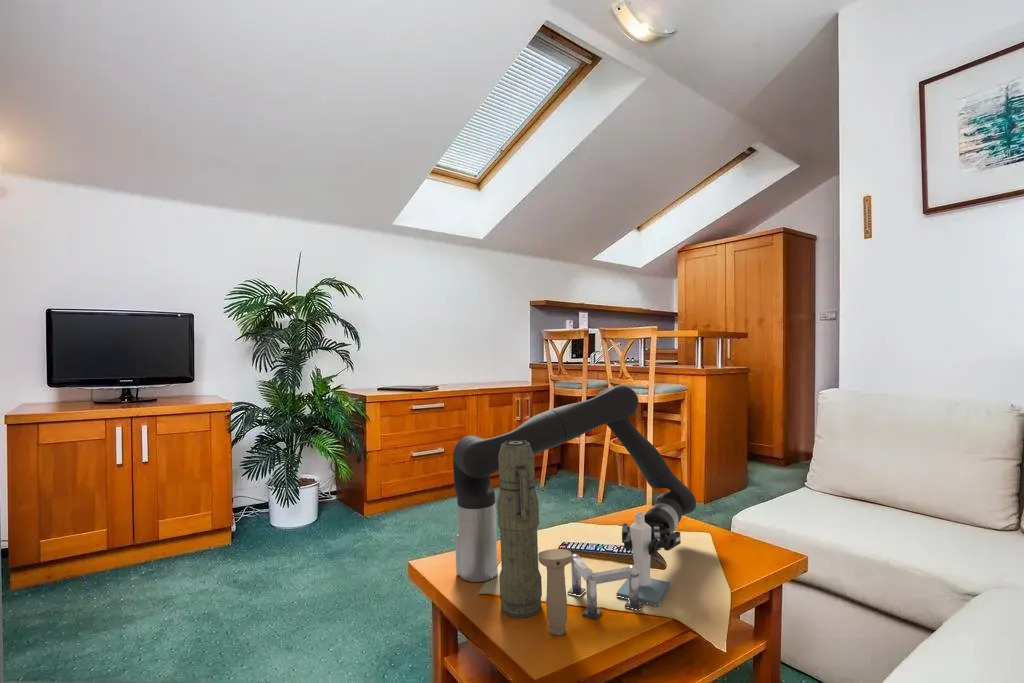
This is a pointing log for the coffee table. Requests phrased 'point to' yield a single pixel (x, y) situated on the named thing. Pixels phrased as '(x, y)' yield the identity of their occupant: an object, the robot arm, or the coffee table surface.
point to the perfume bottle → (641, 548)
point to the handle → (556, 588)
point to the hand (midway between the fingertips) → (638, 548)
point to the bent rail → (602, 577)
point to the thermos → (518, 531)
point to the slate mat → (647, 591)
